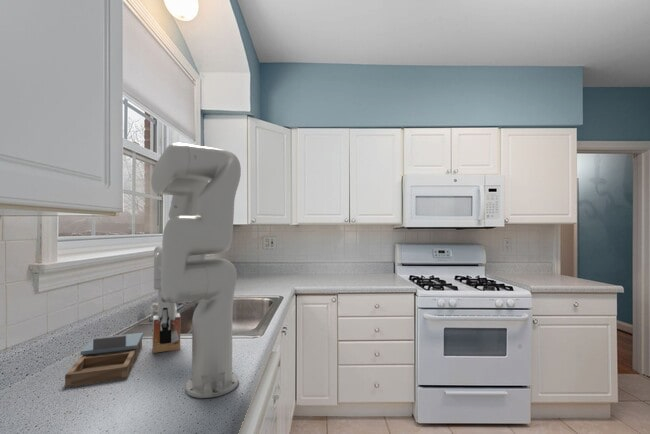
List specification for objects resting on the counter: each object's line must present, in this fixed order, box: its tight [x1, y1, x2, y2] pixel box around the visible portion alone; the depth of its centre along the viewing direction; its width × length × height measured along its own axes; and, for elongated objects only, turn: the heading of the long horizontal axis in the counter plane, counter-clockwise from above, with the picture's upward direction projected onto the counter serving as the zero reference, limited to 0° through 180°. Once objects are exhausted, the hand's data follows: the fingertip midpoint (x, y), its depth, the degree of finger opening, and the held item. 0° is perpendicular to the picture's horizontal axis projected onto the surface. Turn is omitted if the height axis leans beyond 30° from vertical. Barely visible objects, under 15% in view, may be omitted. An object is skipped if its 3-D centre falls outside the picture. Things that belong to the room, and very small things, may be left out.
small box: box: [152, 312, 182, 354], centre depth 109 cm, size 8×6×10 cm
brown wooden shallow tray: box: [64, 338, 143, 388], centre depth 97 cm, size 24×13×3 cm, turn 20°
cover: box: [80, 332, 144, 356], centre depth 103 cm, size 12×14×4 cm
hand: (166, 338), depth 109 cm, fingers closed on small box, 6 cm apart
